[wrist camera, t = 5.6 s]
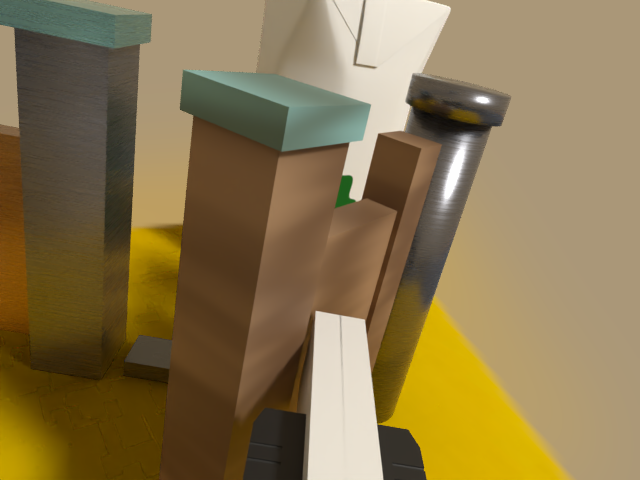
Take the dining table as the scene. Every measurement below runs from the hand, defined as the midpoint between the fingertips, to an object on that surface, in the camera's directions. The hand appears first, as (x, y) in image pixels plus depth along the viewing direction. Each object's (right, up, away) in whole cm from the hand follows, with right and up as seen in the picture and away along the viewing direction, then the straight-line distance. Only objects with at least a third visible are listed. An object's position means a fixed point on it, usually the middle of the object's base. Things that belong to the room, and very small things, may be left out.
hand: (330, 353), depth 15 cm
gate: (-2, -5, +4) cm, 6 cm away
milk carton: (-2, +1, +20) cm, 20 cm away
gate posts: (-7, -3, +9) cm, 11 cm away
